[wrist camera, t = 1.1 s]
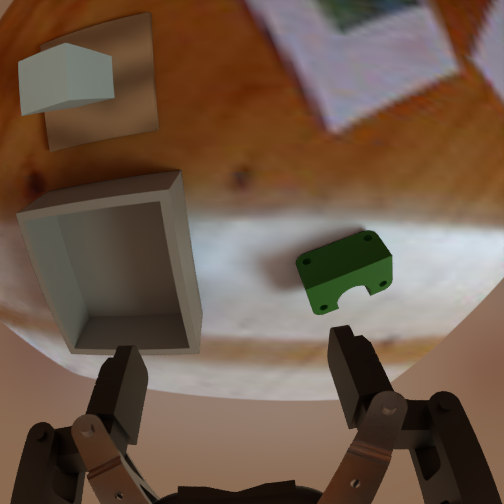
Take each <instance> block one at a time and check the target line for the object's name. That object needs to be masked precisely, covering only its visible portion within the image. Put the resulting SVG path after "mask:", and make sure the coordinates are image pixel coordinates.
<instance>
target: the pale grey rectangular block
mask: <svg viewBox="0 0 504 504" xmlns="http://www.w3.org/2000/svg"><path fill="white" fill-rule="evenodd" d="M18 71H19V90H20V103H21V113H22V116H24V115H30V114H35V113H41V112H47V111H54V110H61V109H69V108H76V107H80V106H84V105H87V104H91V103H95V102H100V101H104V100H108V99H113V98H115V97H114V86H113V72H112V56H109V55H106V54H103V53H100V52H96V51H93V50H90V49H86V48H83V47H80V46H76V45H72V44H69V43H63V44H61V45H58V46H55V47H53V48H50V49H47V50H45V51H42V52H40V53H38V54H35V55H33V56H31V57H28V58H26V59H24V60H22V61H19V62H18Z"/></svg>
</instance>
